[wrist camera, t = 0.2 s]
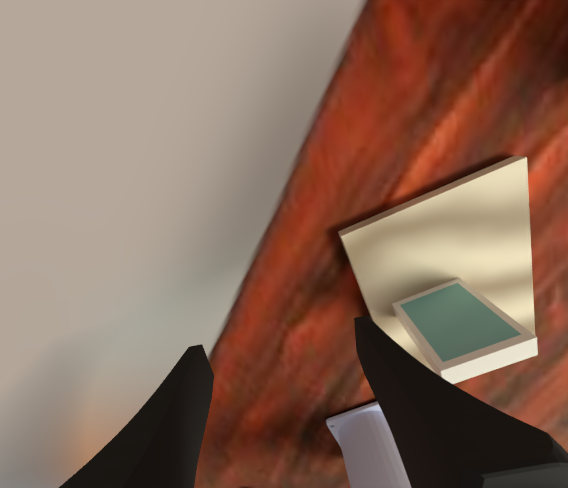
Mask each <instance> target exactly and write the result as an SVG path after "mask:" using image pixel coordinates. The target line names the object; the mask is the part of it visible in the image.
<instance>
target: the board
mask: <svg viewBox="0 0 568 488" xmlns="http://www.w3.org/2000/svg"><path fill="white" fill-rule="evenodd" d="M338 234H339V236H340V239H341V242H342V244H343V247H344V249H345V252H346V254H347V257H348V260H349V262H350V265H351V267H352V270H353V273H354V275H355V278H356V280H357V283H358V285H359V288H360V291H361V293H362V296H363V298H364V301H365V304H366V306H367V309H368V311H369V314H370V316H371V319H372V320H373V321H374V322H375V323H376V324H377V325H378V326H379V327H380V328H381V329H382V330H383V331H384V332H385V333H386V334H387V335H388V336H390V337H391V338H392V339H393V340H394V341H395V342H396V343H397V344H399V345H400V346H401V347H402V348H403V349H404V350H406V351H407V352H408V353H409V354H411V355H412V356H413V357H414V358H416V359H417V360H418V361H420V362H421V363H422V364H424V365H425V366H426V367H428V368H429V369H430V370H432V371H433V369H432V368H431V366H430V365H429V364H428V362H427V361H426V359H425V358H424V356H423V355H422V353H421V352H420V351H419V349H418V348H417V346H416V345H415V343H414V342H413V340H412V339H411V338H410V336H409V335H408V333H407V332H406V330H405V329H404V327H403V326H402V325H401V323H400V322H399V320H398V319H397V317H396V315H395V312H394V309H393V306H392V304H393V303H395V302H398V301H400V300H403V299H405V298H408V297H411V296H413V295H416V294H418V293H421V292H423V291H426V290H429V289H431V288H434V287H436V286H439V285H441V284H444V283H447V282H449V281H452V280H454V279H457V278H461V279H462V280H463V281H465V282H466V283H467V284H468V285H470V286H471V287H472V288H474V289H475V290H476V291H478V292H479V293H480V294H481V295H483V296H484V297H485V298H487V299H488V300H489V301H490V302H492V303H493V304H494V305H496V306H497V307H498V308H500V309H501V310H502V311H503V312H505V313H506V314H507V315H509V316H510V317H511V318H513V319H514V320H515V321H516V322H518V323H519V324H520V325H522V326H523V327H524V328H525V329H527V330H528V331H529V332H531V333H532V334H533V335H535V323H534V301H533V280H532V258H531V237H530V216H529V194H528V173H527V157H523V156H512V157H510V158H508V159H505V160H503V161H501V162H498V163H496V164H494V165H491V166H489V167H487V168H484V169H482V170H480V171H477V172H475V173H473V174H471V175H468V176H466V177H464V178H461V179H459V180H457V181H454V182H452V183H450V184H447V185H445V186H443V187H440V188H438V189H436V190H433V191H431V192H429V193H426V194H424V195H422V196H419V197H417V198H415V199H412V200H410V201H408V202H405V203H403V204H401V205H399V206H396V207H394V208H392V209H389V210H387V211H385V212H382V213H380V214H378V215H375V216H373V217H371V218H368V219H366V220H364V221H361V222H359V223H357V224H354V225H352V226H350V227H347V228H345V229H343V230H340V231H338ZM433 372H434V371H433Z"/></svg>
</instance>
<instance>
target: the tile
mask: <svg viewBox="0 0 568 488" xmlns="http://www.w3.org/2000/svg"><path fill="white" fill-rule="evenodd" d="M392 306H393V309H394V312H395V315H396V317H397V319H398V320H399V322H400V323H401V325H402V326H403V327H404V329H405V330H406V332H407V333H408V335H409V336H410V338H411V339H412V340H413V342H414V343H415V345H416V346H417V348H418V349H419V351H420V352H421V353H422V355H423V356H424V358H425V359H426V361H427V362H428V364H429V365H430V366H431V368H432V369H433V371H434V372H435V373H436V374H438V375H439V376H441V377H442V378H444V379H445V380H447V381H448V382H450V383H451V384H454V383H457V382H460V381H463V380H466V379H469V378H472V377H475V376H478V375H481V374H483V373H486V372H489V371H492V370H495V369H498V368H501V367H504V366H507V365H509V364H512V363H515V362H518V361H521V360H524V359H527V358H530V357H533V356H536V355H538V351H537V337H536V336H535V335H533V334H532V333H531V332H529V331H528V330H527V329H525V328H524V327H523V326H522V325H520V324H519V323H518V322H516V321H515V320H514V319H513V318H511V317H510V316H509V315H507V314H506V313H505V312H503V311H502V310H501V309H500V308H498V307H497V306H496V305H494V304H493V303H492V302H490V301H489V300H488V299H487V298H485V297H484V296H483V295H481V294H480V293H479V292H478V291H476V290H475V289H474V288H472V287H471V286H470V285H468V284H467V283H466V282H465V281H463V280H462V279H461V278H457V279H454V280H452V281H449V282H447V283H444V284H441V285H439V286H436V287H434V288H431V289H429V290H426V291H423V292H421V293H418V294H416V295H413V296H411V297H408V298H405V299H403V300H400V301H398V302H395V303H393V304H392Z"/></svg>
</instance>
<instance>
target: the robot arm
mask: <svg viewBox="0 0 568 488" xmlns="http://www.w3.org/2000/svg"><path fill="white" fill-rule="evenodd" d="M354 321H355V335H356V349H357V353H358V356H359V359H360V362H361V365H362V368H363V371H364V374H365V376H366V378H367V380H368V382H369V384H370V387H371V389H372V391H373V393H374V395H375V397H376V400H377V401H376V402H373V403H371V404H368V405H365V406H362V407H359V408H356V409H353V410H351V411H348V412H345V413H342V414H339V415H336V416H333V417H330V418H328V419H327V420H326V424H327V426H328V428H329V429H330V431H331V433H332V434H333V436H334V438H335V439H336V441H337V442H338V444H339V446H340V447H341V449H342V453H343V458H344V462H345V466H346V470H347V474H348V479H349V483H350V487H351V488H568V453H567V452H566V451H565V450H564V448H563V447H562V446H561V445H559V444H558V443H557V442H556V441H555V440H554V439H553V438H552V437H551V436H550V435H549V434H548V433H546V432H544V431H542V430H540V429H538V428H535V427H533V426H531V425H529V424H527V423H524V422H522V421H520V420H518V419H516V418H514V417H511V416H509V415H507V414H505V413H503V412H501V411H499V410H497V409H495V408H494V407H492V406H490V405H488V404H486V403H484V402H482V401H480V400H479V399H477V398H475V397H473V396H472V395H470V394H468V393H466V392H465V391H463V390H461V389H460V388H458V387H456V386H454V385H453V384H451V383H450V382H448V381H447V380H445V379H444V378H442V377H441V376H439V375H438V374H436V373H435V372H433V371H432V370H430V369H429V368H428V367H426V366H425V365H424V364H422V363H421V362H420V361H418V360H417V359H416V358H414V357H413V356H412V355H411V354H409V353H408V352H407V351H406V350H404V349H403V348H402V347H401V346H400V345H399V344H397V343H396V342H395V341H394V340H393V339H392V338H391V337H390V336H388V335H387V334H386V333H385V332H384V331H383V330H382V329H381V328H380V327H379V326H378V325H377V324H376V323H375V322H374V321H373V320H372V319H371V318H370V317H368V316H363V317H357V318H354ZM213 380H214V374H213V372H212V369H211V367H210V364H209V361H208V359H207V356H206V354H205V351H204V348H203V346H202V345H196V346H191V347H189V348H188V349H187V350H186V352H185V353H184V354H183V356H182V357H181V358H180V360H179V361H178V362H177V364H176V365H175V366H174V368H173V369H172V371H171V372H170V373H169V374H168V376H167V377H166V378H165V380H164V381H163V383H162V384H161V385H160V386H159V388H158V389H157V390H156V392H155V393H154V394H153V395H152V396H151V397H150V398H149V400H148V401H147V402H146V403H145V405H144V406H143V407H142V408H141V409H140V410H139V412H138V413H137V414H136V415H135V416H134V417H133V418H132V419H131V421H130V422H129V423H128V424H127V425H126V426H125V427H124V428H123V429H122V430H121V431H120V432H119V433H118V434H117V435H116V436H115V437H114V438H113V439H112V440H111V441H110V442H109V443H108V444H107V445H106V446H105V447H104V448H103V449H102V450H101V451H100V452H99V453H97V454H96V455H95V456H94V457H93V458H92V459H91V460H90V461H89V462H88V463H87V464H86V465H85V466H83V467H82V468H81V469H80V470H79V471H78V472H77V473H76V474H74V475H73V476H72V477H71V478H70V479H68V481H66V482H65V483H64V484H63V485H62V486H60V487H59V488H194V484H195V476H196V469H197V463H198V458H199V453H200V448H201V444H202V439H203V435H204V430H205V426H206V422H207V417H208V413H209V408H210V403H211V399H212V390H213Z"/></svg>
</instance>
